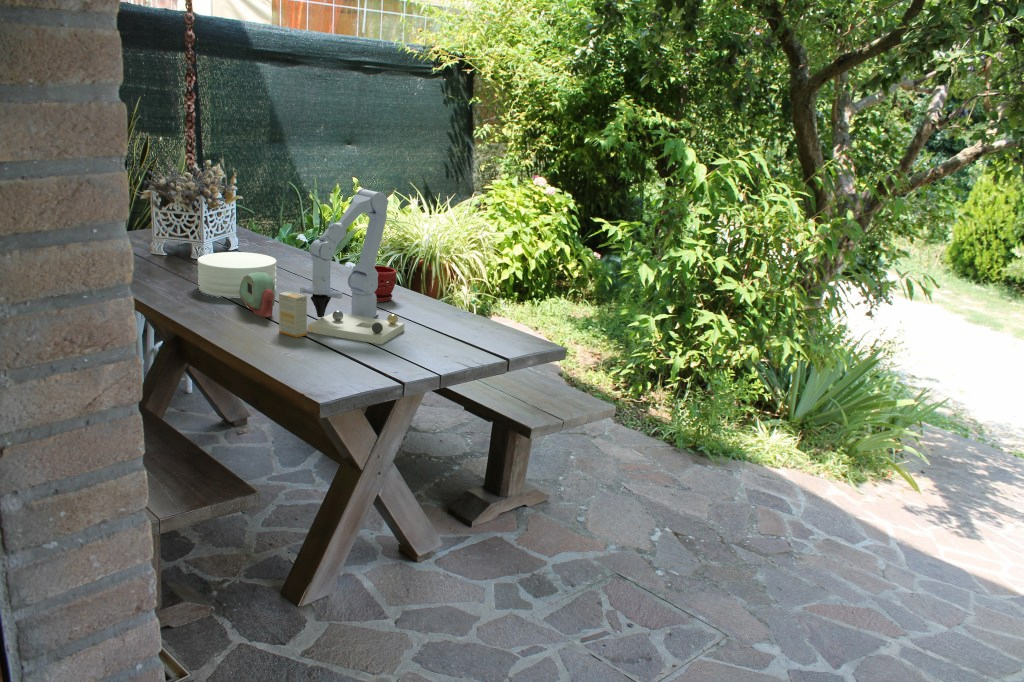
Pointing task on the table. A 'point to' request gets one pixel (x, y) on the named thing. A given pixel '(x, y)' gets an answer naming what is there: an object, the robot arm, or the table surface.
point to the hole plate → (355, 328)
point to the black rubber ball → (377, 327)
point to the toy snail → (258, 293)
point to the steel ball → (337, 315)
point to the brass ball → (392, 319)
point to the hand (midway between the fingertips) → (320, 316)
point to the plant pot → (385, 283)
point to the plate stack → (231, 271)
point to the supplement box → (293, 314)
